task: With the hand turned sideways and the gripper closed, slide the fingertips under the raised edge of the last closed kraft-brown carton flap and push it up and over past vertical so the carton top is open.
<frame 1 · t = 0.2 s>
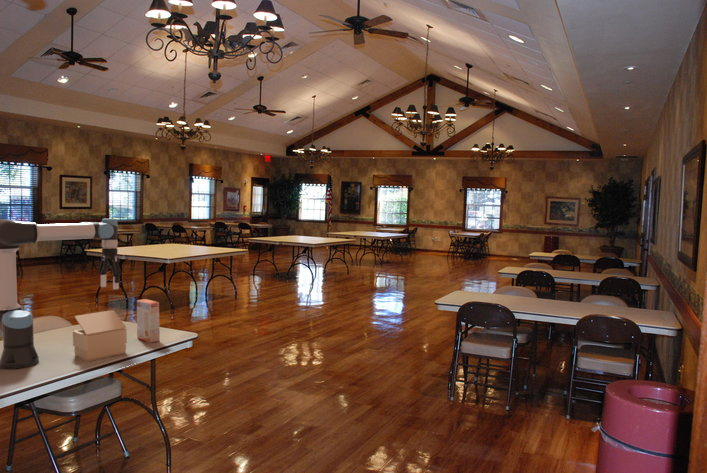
hand: (109, 288, 290), 27 cm above the table, tool pointing down, fingers open, 13 cm apart
flap: (100, 322, 261), point 16 cm above the table, hinge at 28.0°
carton: (100, 354, 263), on the table
cracker box: (148, 340, 290), on the table
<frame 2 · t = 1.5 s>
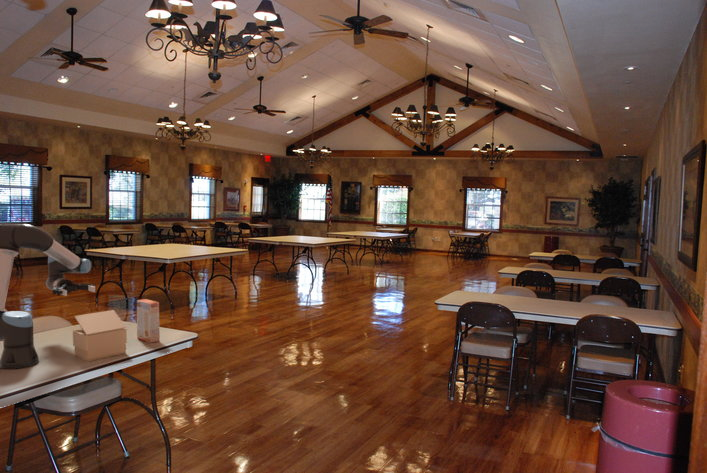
hand: (80, 291, 274), 28 cm above the table, tool horizontal, fingers open, 13 cm apart
nothing on the table moved.
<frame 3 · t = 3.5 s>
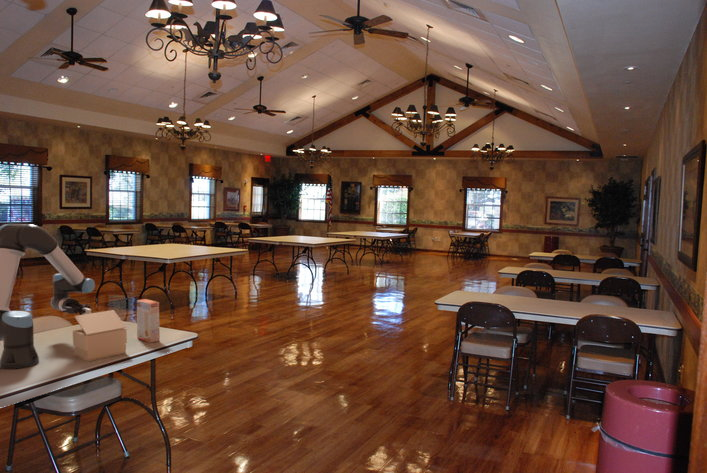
hand: (89, 312, 268), 19 cm above the table, tool horizontal, fingers closed
nothing on the table moved.
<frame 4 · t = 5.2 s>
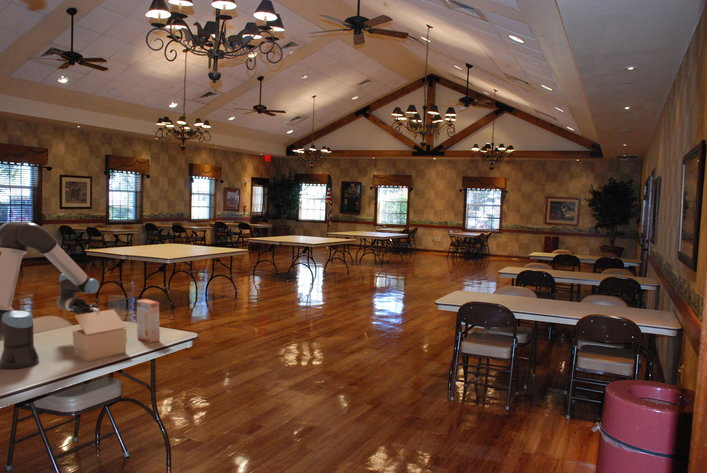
hand: (97, 312, 266), 20 cm above the table, tool horizontal, fingers closed
flap: (100, 321, 261), point 16 cm above the table, hinge at 29.8°, touching gripper
everything else where it was.
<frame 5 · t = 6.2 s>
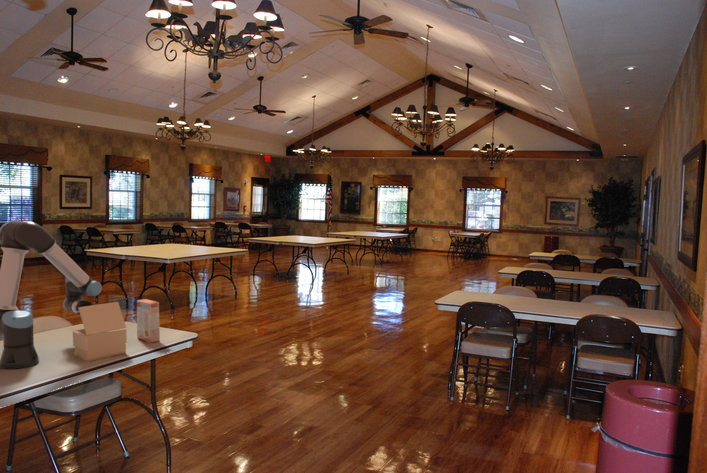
hand: (105, 314, 262), 19 cm above the table, tool horizontal, fingers closed
flap: (102, 317, 259), point 18 cm above the table, hinge at 56.0°, touching gripper
everything else where it was.
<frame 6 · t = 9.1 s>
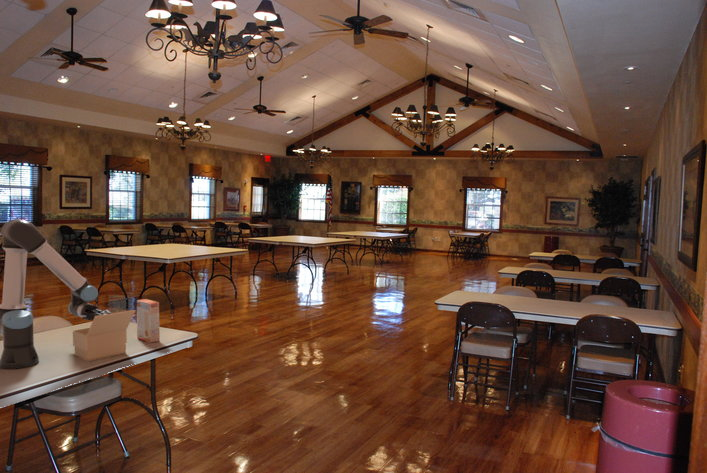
hand: (111, 318, 254), 19 cm above the table, tool horizontal, fingers closed
flap: (111, 322, 254), point 17 cm above the table, hinge at 132.0°, touching gripper
everything else where it was.
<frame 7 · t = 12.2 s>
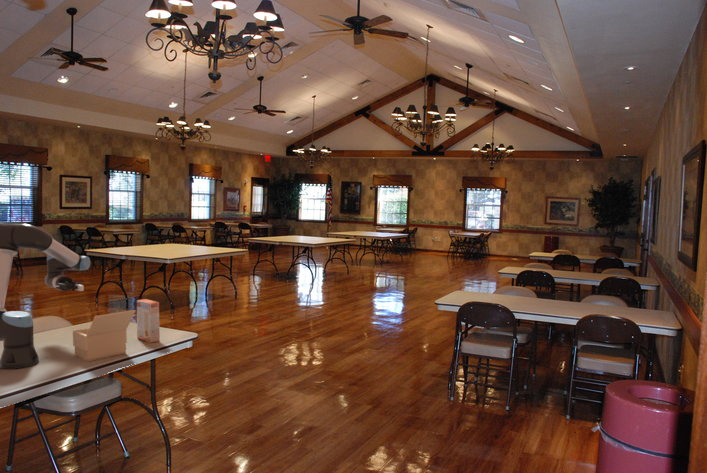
hand: (82, 288, 272), 30 cm above the table, tool horizontal, fingers closed
flap: (111, 322, 254), point 17 cm above the table, hinge at 132.1°
everything else where it was.
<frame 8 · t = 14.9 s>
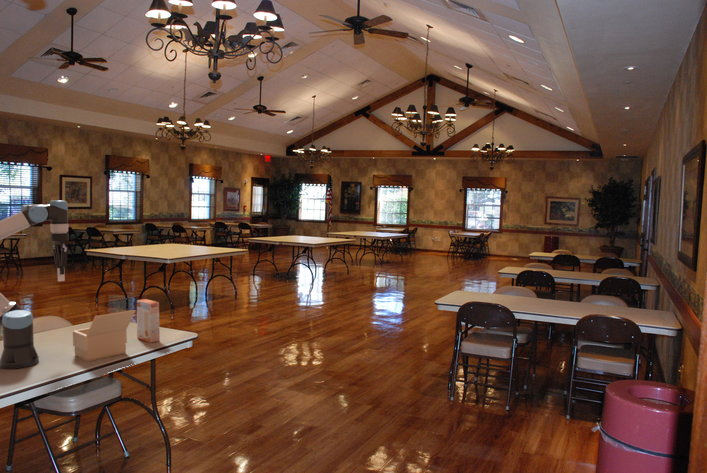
hand: (61, 281, 266), 34 cm above the table, tool pointing down, fingers closed
nothing on the table moved.
at the end: flap at +132° (first picture: +28°); cracker box moved 0.2 cm from its start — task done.
